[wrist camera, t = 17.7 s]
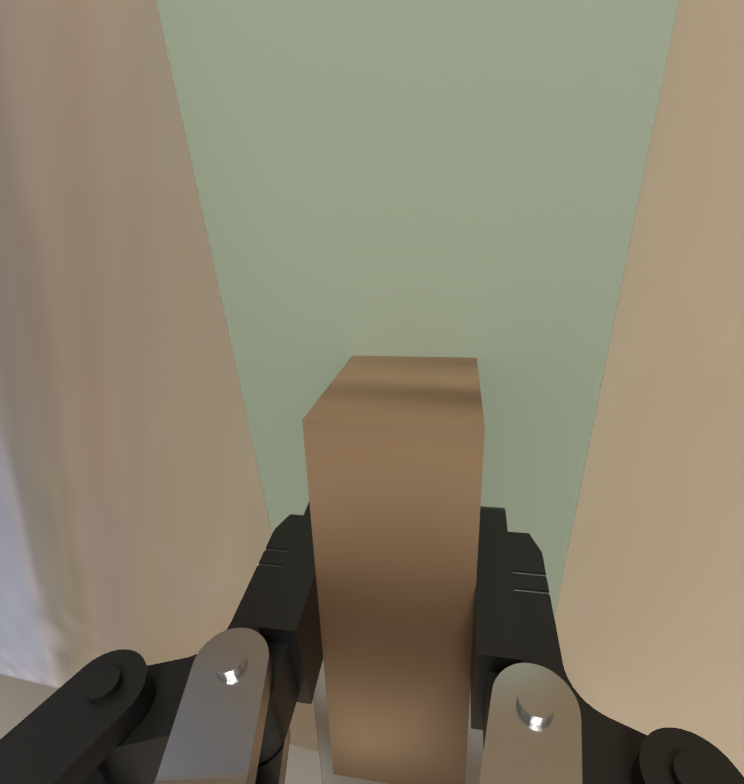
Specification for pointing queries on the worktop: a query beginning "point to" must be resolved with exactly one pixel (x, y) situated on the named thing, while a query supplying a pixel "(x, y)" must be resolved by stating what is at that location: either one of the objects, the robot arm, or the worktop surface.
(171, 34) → the board
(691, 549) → the worktop surface
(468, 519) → the tall wooden post
